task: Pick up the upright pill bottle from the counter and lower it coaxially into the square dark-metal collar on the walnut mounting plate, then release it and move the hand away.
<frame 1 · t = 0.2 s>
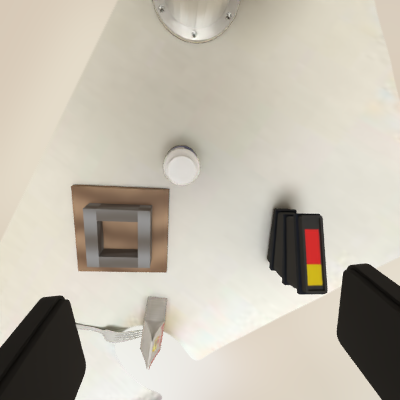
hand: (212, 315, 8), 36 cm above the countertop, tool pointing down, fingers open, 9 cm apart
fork: (92, 325, 51), on the countertop
pill bottle: (181, 160, 42), on the countertop
grey upright pouch: (155, 310, 51), on the countertop
mount: (123, 229, 45), on the countertop
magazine: (278, 228, 48), on the countertop
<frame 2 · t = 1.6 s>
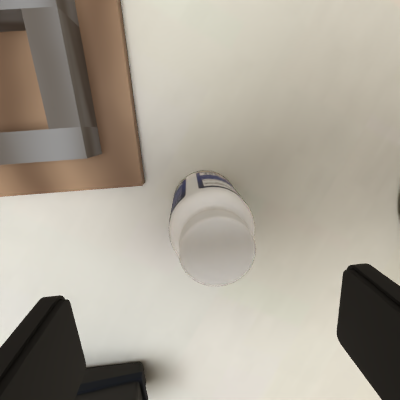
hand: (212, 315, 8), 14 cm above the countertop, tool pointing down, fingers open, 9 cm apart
pill bottle: (204, 199, 22), on the countertop
mount: (24, 87, 19), on the countertop
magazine: (106, 373, 27), on the countertop
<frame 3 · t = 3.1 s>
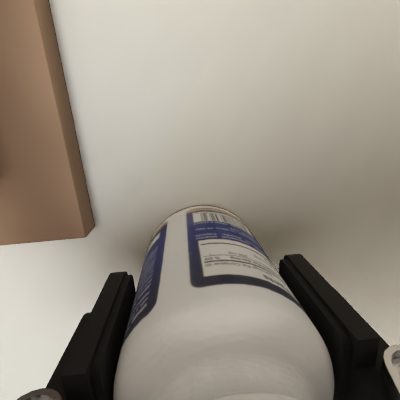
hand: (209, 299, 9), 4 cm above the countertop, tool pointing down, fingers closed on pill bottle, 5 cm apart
pill bottle: (201, 251, 13), on the countertop, touching gripper
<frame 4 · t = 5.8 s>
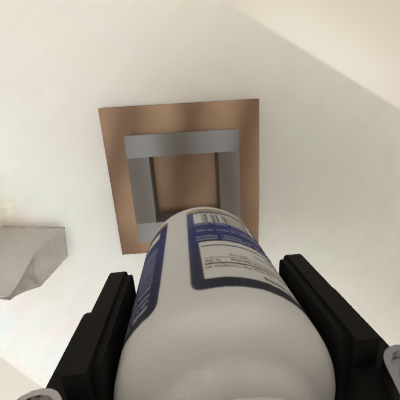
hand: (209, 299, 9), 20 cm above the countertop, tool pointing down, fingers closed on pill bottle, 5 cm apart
pill bottle: (202, 252, 13), point 16 cm above the countertop, touching gripper
grey upright pouch: (37, 240, 29), on the countertop
mount: (185, 179, 28), on the countertop
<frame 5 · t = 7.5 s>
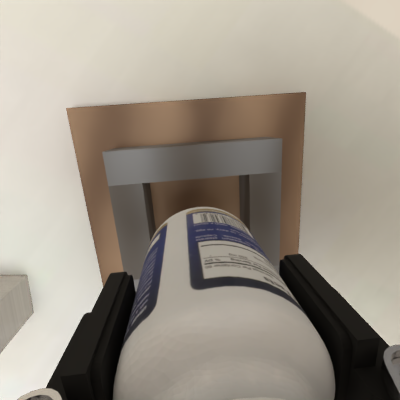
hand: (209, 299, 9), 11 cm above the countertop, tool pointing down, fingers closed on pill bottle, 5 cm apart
pill bottle: (201, 252, 13), point 7 cm above the countertop, touching gripper
mount: (196, 208, 20), on the countertop
when the fingers open (6 cm above the countertop, at t = 8.9 s): pill bottle drops 1 cm, resting on mount.
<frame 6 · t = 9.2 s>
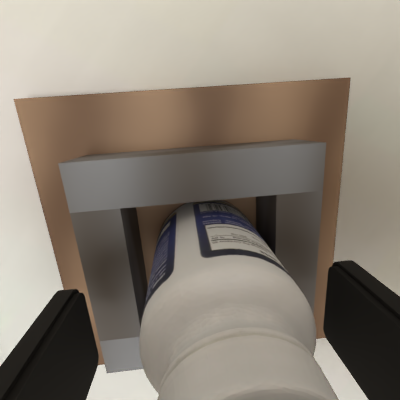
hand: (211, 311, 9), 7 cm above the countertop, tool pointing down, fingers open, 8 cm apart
pill bottle: (205, 240, 14), point 1 cm above the countertop, touching mount
mount: (198, 232, 15), on the countertop
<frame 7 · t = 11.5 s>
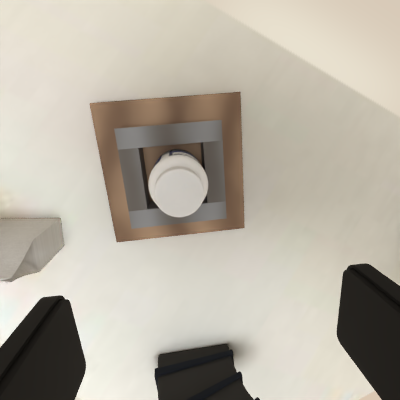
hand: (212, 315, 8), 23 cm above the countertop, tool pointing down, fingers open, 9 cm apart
pill bottle: (177, 172, 29), point 1 cm above the countertop, touching mount
grey upright pouch: (34, 231, 31), on the countertop
mount: (174, 170, 30), on the countertop
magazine: (201, 353, 38), on the countertop
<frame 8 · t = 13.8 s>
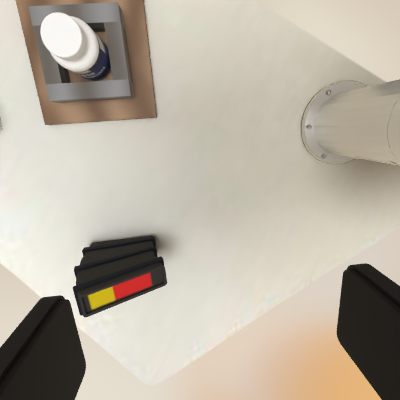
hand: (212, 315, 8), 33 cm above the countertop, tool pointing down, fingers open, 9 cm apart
pill bottle: (93, 60, 34), point 1 cm above the countertop, touching mount
mount: (93, 62, 35), on the countertop
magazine: (131, 245, 44), on the countertop
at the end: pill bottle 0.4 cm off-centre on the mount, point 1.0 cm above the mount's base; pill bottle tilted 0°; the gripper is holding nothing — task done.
